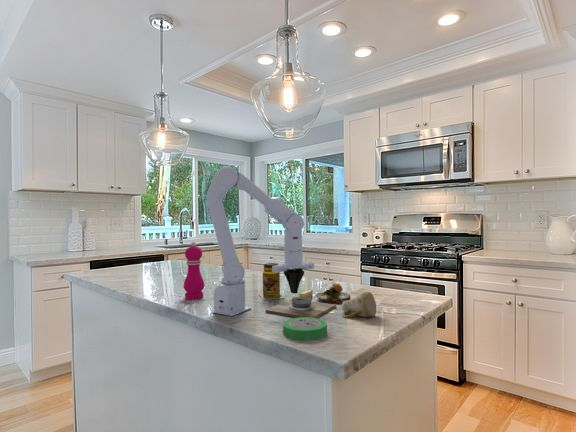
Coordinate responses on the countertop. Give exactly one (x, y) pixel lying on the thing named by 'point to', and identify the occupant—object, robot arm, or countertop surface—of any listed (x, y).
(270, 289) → the condiment
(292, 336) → the tape roll
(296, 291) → the robot arm
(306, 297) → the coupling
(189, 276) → the pepper mill
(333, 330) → the countertop surface
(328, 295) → the plate of food
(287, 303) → the post base
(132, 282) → the countertop surface
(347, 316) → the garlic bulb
